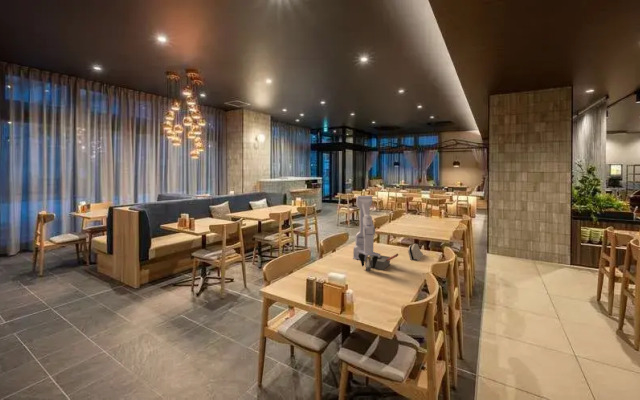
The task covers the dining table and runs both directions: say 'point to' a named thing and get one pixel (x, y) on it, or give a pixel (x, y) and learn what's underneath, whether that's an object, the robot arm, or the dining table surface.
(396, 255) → the bar
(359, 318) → the dining table surface
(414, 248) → the hinge
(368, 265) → the pin
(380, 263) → the pin block
